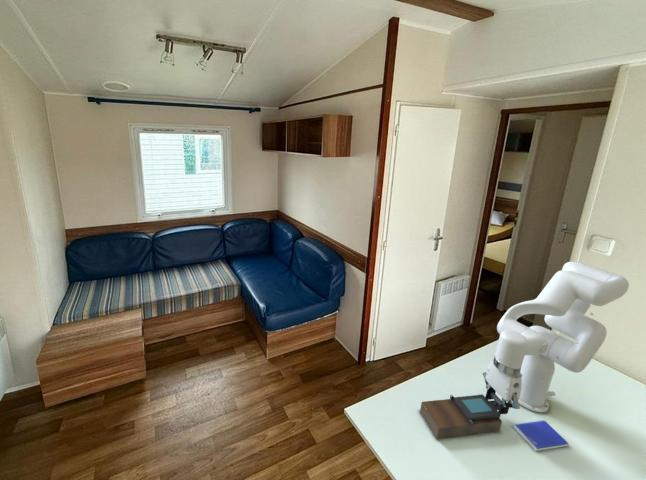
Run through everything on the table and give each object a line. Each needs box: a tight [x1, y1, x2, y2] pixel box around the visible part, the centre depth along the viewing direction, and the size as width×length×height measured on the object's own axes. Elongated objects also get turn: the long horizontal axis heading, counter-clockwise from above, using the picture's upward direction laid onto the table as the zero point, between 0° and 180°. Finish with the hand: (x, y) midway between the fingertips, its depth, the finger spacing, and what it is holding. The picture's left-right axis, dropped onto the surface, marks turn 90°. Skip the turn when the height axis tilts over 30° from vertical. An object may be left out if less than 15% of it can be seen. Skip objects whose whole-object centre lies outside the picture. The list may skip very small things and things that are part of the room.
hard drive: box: [513, 420, 569, 452], centre depth 100 cm, size 2×8×12 cm
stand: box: [419, 394, 503, 440], centre depth 104 cm, size 24×10×7 cm, turn 97°
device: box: [453, 392, 502, 421], centre depth 104 cm, size 16×8×4 cm, turn 97°
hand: (495, 405), depth 105 cm, fingers closed on device, 5 cm apart
